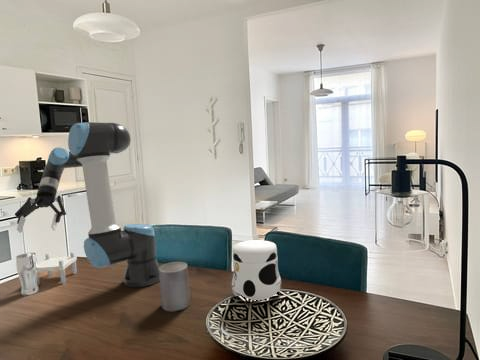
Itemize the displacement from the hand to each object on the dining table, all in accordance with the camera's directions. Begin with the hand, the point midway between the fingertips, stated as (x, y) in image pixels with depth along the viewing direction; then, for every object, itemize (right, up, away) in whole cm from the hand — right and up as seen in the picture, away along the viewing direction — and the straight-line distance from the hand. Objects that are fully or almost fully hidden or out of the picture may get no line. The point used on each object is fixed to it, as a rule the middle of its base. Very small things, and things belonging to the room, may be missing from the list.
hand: (36, 229), depth 147 cm
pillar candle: (+63, -22, -27) cm, 72 cm away
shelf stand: (+6, -22, +4) cm, 23 cm away
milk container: (+91, -20, -23) cm, 96 cm away
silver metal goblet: (+3, -23, -9) cm, 25 cm away
